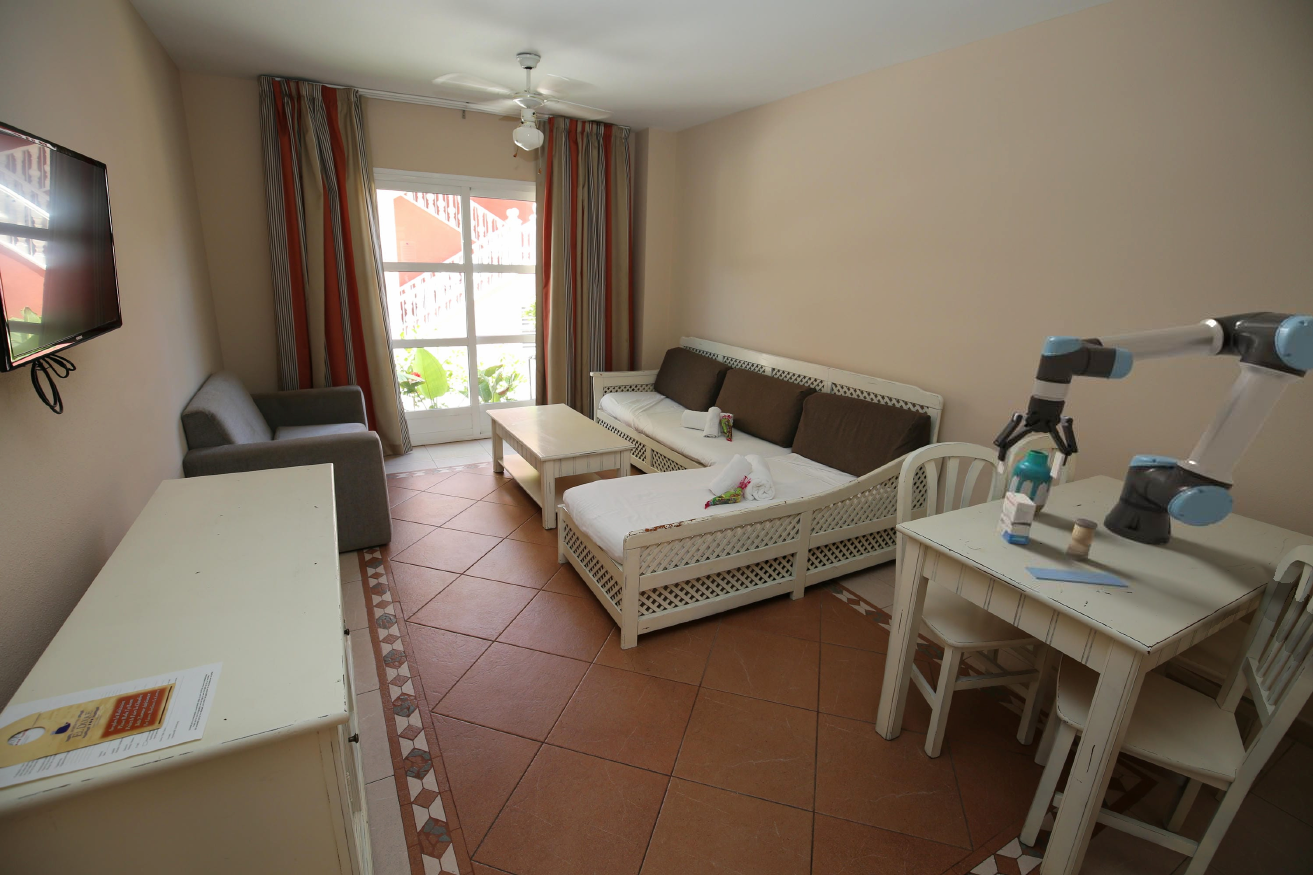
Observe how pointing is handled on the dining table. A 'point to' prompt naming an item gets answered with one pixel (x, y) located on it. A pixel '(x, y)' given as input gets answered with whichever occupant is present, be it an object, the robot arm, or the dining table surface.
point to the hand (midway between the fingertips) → (1027, 474)
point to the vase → (1032, 478)
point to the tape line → (1076, 576)
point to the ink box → (1016, 518)
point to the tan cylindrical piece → (1081, 539)
